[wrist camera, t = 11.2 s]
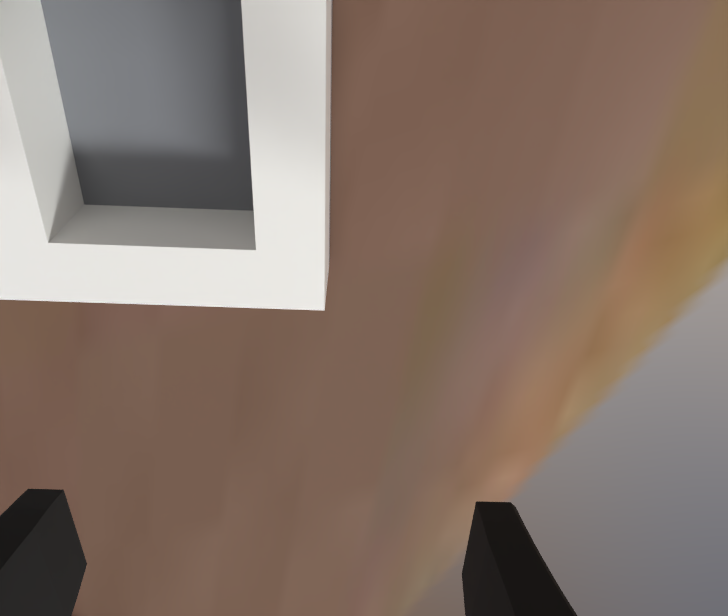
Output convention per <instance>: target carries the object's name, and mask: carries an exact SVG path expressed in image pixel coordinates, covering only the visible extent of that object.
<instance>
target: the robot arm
mask: <svg viewBox="0 0 728 616" xmlns="http://www.w3.org/2000/svg"><path fill="white" fill-rule="evenodd" d="M86 565H87V563H86V560H85V556H84V553H83V550H82V547H81V544H80V540H79V537H78V534H77V531H76V528H75V525H74V521H73V518H72V515H71V512H70V509H69V506H68V502H67V499H66V496H65V493H64V490H50V489H28V490H27V491H25V492H24V493H23V494H22V495H21V496H20V497H19V498H18V499H17V500H16V501H15V502H14V503H13V504H12V505H11V506H10V507H9V508H8V509H7V510H6V511H5V512H4V513H3V514H2V515H1V516H0V616H71V615H72V612H73V609H74V605H75V602H76V599H77V596H78V593H79V589H80V586H81V582H82V579H83V575H84V572H85V569H86ZM462 581H463V592H464V603H465V615H466V616H577V615H576V613H575V611H574V610H573V608H572V607H571V605H570V604H569V602H568V600H567V599H566V597H565V596H564V594H563V592H562V591H561V589H560V587H559V586H558V584H557V582H556V581H555V579H554V577H553V576H552V574H551V572H550V571H549V569H548V567H547V565H546V563H545V562H544V560H543V558H542V556H541V555H540V553H539V551H538V549H537V547H536V546H535V544H534V542H533V540H532V538H531V536H530V535H529V533H528V531H527V529H526V527H525V525H524V523H523V521H522V519H521V517H520V515H519V513H518V511H517V509H516V507H515V506H514V505H513V504H512V503H510V502H476V505H475V510H474V515H473V520H472V525H471V530H470V535H469V540H468V545H467V550H466V556H465V561H464V566H463V571H462Z"/></svg>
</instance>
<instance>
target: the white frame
mask: <svg viewBox="0 0 728 616" xmlns="http://www.w3.org/2000/svg"><path fill="white" fill-rule="evenodd" d="M331 83H332V0H0V299H4V300H33V301H63V302H92V303H122V304H152V305H181V306H211V307H240V308H270V309H300V310H325V300H326V290H327V280H328V270H329V261H330V178H331Z"/></svg>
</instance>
